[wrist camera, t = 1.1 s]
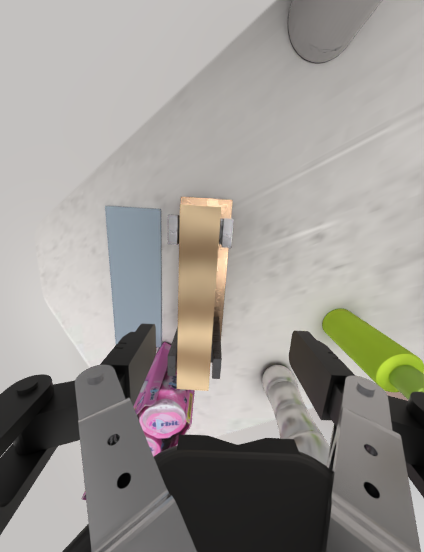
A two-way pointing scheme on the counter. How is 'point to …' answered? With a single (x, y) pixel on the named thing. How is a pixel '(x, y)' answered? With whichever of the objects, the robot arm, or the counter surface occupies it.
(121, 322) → the slate mat
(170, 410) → the gum box
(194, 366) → the oak rail
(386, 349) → the soap dispenser
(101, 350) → the counter surface
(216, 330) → the hook rack
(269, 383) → the plastic bottle
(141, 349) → the robot arm
